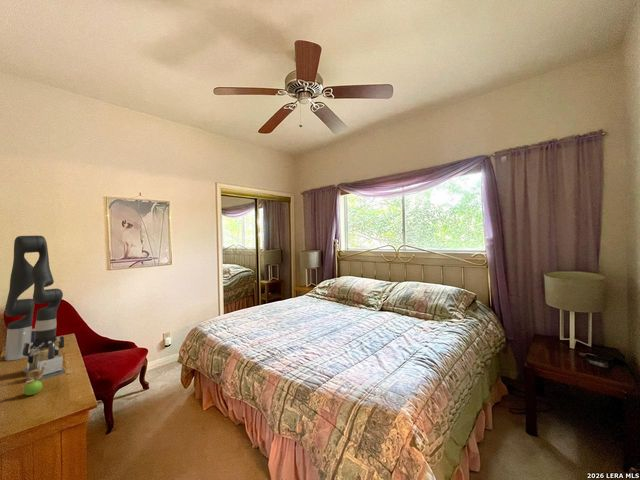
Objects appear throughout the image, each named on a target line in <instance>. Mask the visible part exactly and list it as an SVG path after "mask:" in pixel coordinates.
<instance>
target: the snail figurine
mask: <svg viewBox="0 0 640 480" xmlns="http://www.w3.org/2000/svg"><path fill="white" fill-rule="evenodd" d="M44 364H47V363H46V362H45V363H44ZM45 368H46V366H45V365H44V366H42V370H41V371H40V370H38V369H35V370H32V371H30V372H28V373H27V374H25V380H26V381H25V383H26V385H25V386H24V388H23V390H22V391H23V394H24V395H26V396H33V395H36V394H38V393H39V392H40V391H41V390H42V388H43V382H41V380H39V379H40V378H41V377H42V376H43V374H44V371H45ZM37 380H39V381H37Z"/></svg>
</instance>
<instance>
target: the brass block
mask: <svg viewBox="0 0 640 480" xmlns="http://www.w3.org/2000/svg"><path fill="white" fill-rule="evenodd" d="M48 349H49V348H44V349H39V350H38V351H37V352H35V353H36V360H35V369H37V362H38V360H41V359H45V358H48Z"/></svg>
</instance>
